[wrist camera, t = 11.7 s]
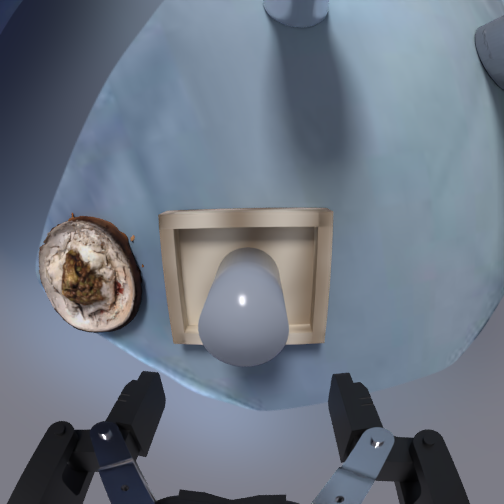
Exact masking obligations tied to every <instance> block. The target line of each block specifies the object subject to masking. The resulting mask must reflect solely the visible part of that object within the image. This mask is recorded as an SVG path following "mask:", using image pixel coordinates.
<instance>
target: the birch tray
mask: <svg viewBox="0 0 504 504" xmlns="http://www.w3.org/2000/svg"><path fill="white" fill-rule="evenodd" d="M158 217H159V230H160V242H161V252H162V262H163V271H164V280H165V288H166V295H167V303H168V310H169V317H170V324H171V330H172V336H173V342H174V344H197V345H203V343H202V341H201V339H200V336H199V332H198V322H199V318H200V315H201V312H202V309H203V307H204V304H205V301H206V298H207V296H208V293H209V290H210V288H211V285H212V283H213V280H214V277H215V275H216V272H217V269H218V267H219V265H220V263H221V261H222V259H223V258H224V257H225V256H226V255H227V254H229V253H230V252H232V251H234V250H236V249H239V248H245V247H251V248H257V249H260V250H262V251H264V252H266V253H267V254H268V255H270V256H271V257H272V258H273V260H274V261H275V262H276V264H277V267H278V269H279V274H280V280H281V285H282V290H283V296H284V301H285V307H286V312H287V318H288V324H289V335H288V339H287V342H286V344H285V345H290V344H313V343H324V340H325V331H326V321H327V311H328V299H329V286H330V272H331V256H332V235H333V211H331V210H329V209H328V208H234V209H200V210H176V211H166V212H163V213H161V214H159V215H158Z"/></svg>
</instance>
